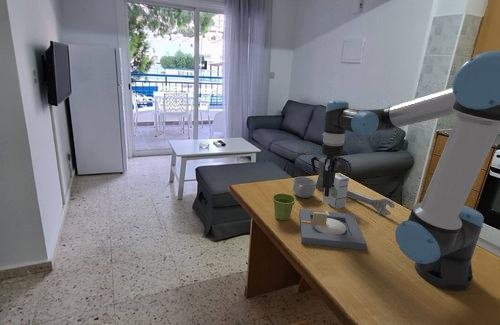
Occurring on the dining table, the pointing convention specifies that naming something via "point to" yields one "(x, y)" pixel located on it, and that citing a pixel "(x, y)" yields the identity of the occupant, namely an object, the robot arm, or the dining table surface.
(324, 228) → the dial
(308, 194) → the teacup
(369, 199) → the wrench
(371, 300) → the dining table surface
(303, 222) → the dial housing
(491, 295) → the dining table surface
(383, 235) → the dining table surface
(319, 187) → the coffeepot
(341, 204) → the syrup box
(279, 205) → the plant pot
